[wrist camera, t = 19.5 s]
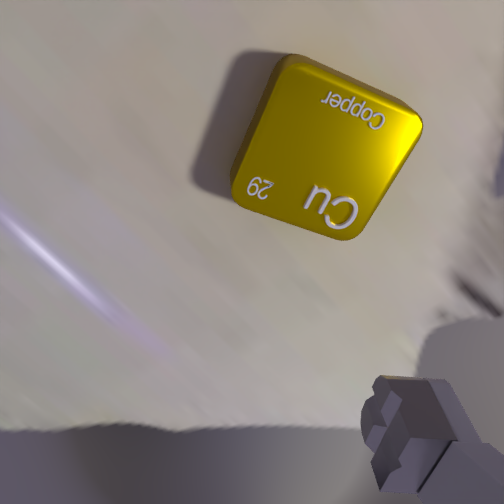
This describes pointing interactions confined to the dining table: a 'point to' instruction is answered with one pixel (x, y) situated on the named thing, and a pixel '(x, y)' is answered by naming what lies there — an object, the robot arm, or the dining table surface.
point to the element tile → (322, 149)
